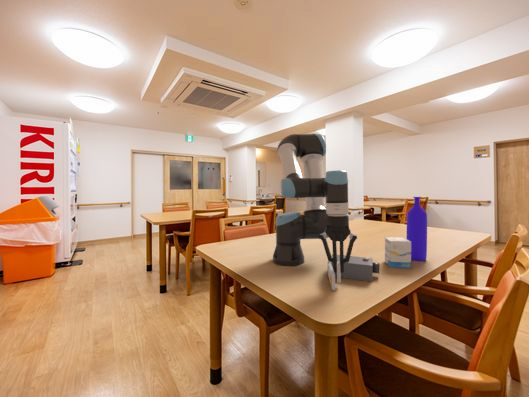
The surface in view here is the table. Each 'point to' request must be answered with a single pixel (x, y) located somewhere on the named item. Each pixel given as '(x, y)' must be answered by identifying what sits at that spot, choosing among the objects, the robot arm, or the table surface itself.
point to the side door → (331, 276)
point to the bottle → (417, 231)
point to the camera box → (358, 268)
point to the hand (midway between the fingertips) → (339, 281)
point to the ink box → (398, 252)
